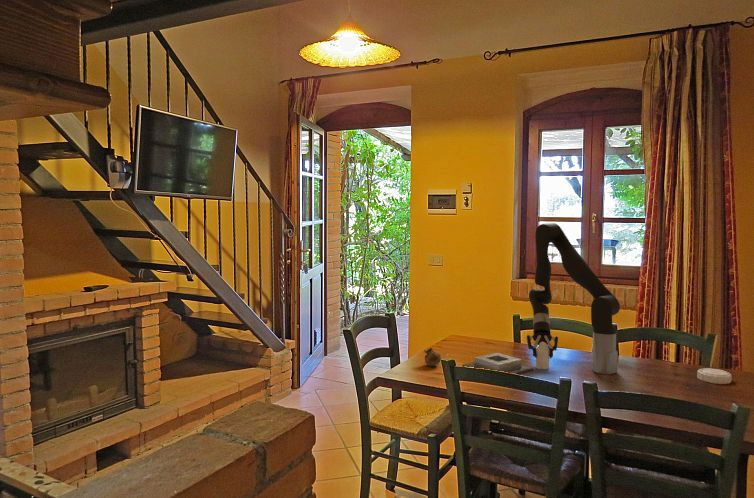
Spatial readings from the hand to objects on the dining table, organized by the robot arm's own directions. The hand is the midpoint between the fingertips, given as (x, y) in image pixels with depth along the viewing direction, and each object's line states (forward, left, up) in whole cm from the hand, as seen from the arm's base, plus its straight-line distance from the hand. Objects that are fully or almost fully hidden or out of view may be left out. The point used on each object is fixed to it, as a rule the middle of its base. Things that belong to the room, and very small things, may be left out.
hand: (543, 357), depth 239 cm
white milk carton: (+1, -1, -5) cm, 6 cm away
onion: (+32, +37, -6) cm, 49 cm away
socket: (+12, +16, -5) cm, 21 cm away
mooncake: (-51, -45, -6) cm, 68 cm away
